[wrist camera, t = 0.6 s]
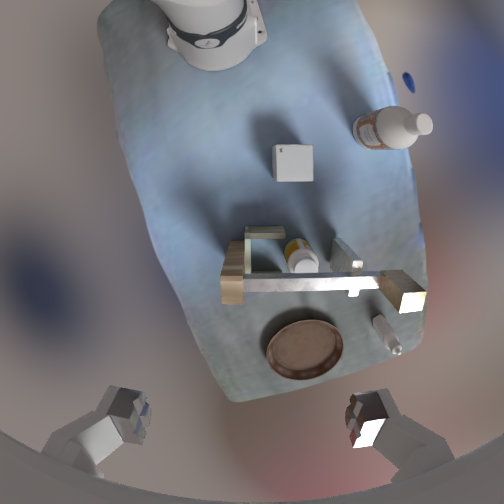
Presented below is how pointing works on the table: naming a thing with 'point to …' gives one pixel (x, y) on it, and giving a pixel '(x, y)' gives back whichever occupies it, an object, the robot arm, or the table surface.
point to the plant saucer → (305, 350)
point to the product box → (292, 162)
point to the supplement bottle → (300, 257)
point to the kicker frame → (243, 261)
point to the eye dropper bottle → (387, 334)
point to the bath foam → (390, 128)
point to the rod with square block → (344, 280)
